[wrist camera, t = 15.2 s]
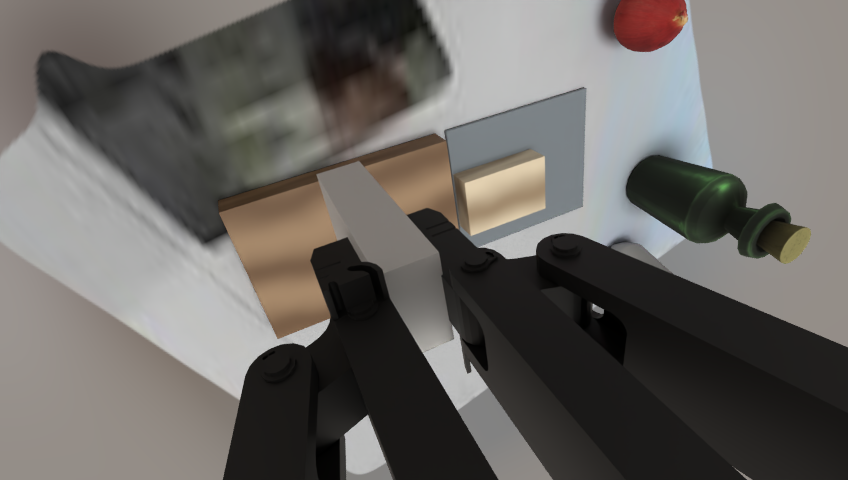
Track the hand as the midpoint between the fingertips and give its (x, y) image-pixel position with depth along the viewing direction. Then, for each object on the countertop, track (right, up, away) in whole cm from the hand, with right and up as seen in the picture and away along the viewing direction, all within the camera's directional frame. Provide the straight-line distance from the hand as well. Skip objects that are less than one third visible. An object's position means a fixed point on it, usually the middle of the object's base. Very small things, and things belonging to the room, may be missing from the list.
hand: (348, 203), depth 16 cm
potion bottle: (+30, +6, +42) cm, 52 cm away
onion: (+22, +21, +29) cm, 42 cm away
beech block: (+10, +4, +32) cm, 34 cm away
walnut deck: (-4, 0, +28) cm, 29 cm away
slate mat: (+13, +6, +33) cm, 36 cm away
